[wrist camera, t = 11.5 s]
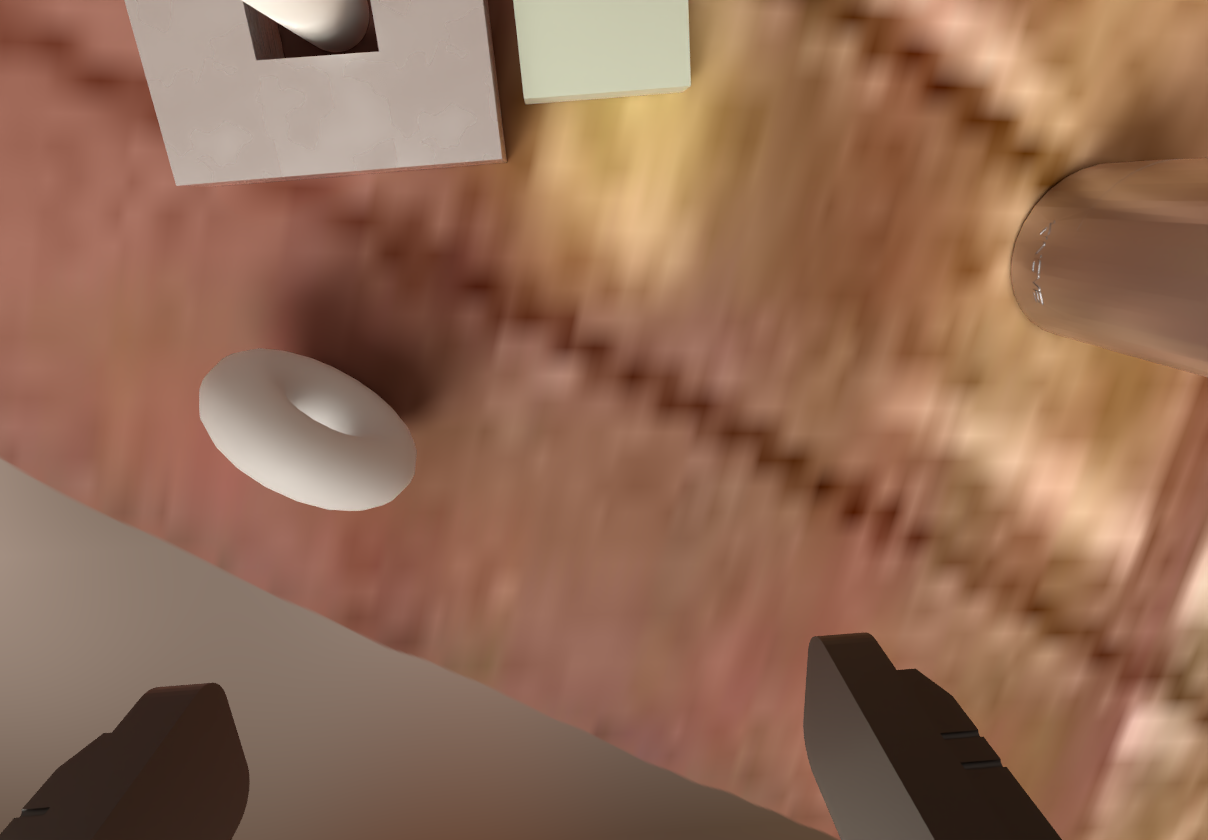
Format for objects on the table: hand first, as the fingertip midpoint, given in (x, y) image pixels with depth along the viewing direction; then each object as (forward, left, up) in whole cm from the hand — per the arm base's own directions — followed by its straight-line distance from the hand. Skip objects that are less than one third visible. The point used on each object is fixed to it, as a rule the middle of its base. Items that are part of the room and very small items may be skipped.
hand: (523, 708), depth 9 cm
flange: (+8, -15, -28) cm, 32 cm away
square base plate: (-4, -15, -28) cm, 32 cm away
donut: (+11, +3, -28) cm, 30 cm away
